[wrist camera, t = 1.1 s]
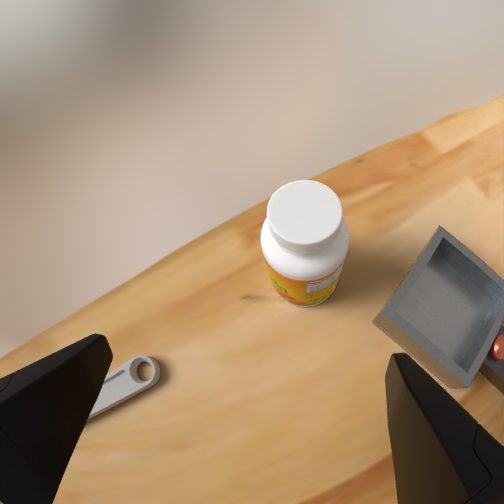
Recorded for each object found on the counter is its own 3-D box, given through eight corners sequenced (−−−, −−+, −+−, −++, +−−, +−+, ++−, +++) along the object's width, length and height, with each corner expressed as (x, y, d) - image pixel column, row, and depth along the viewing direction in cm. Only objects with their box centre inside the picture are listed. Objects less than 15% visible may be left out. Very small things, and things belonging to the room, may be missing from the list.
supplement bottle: (260, 262, 25) (236, 193, 16) (317, 235, 25) (321, 156, 17) (289, 320, 23) (281, 276, 14) (350, 288, 23) (376, 228, 14)
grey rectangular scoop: (563, 374, 14) (581, 369, 12) (524, 454, 13) (542, 457, 10) (427, 242, 23) (439, 225, 21) (371, 322, 21) (380, 313, 19)
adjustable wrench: (155, 350, 24) (145, 347, 22) (186, 419, 21) (178, 420, 19) (3, 421, 22) (-8, 420, 20) (19, 470, 19) (9, 471, 17)
